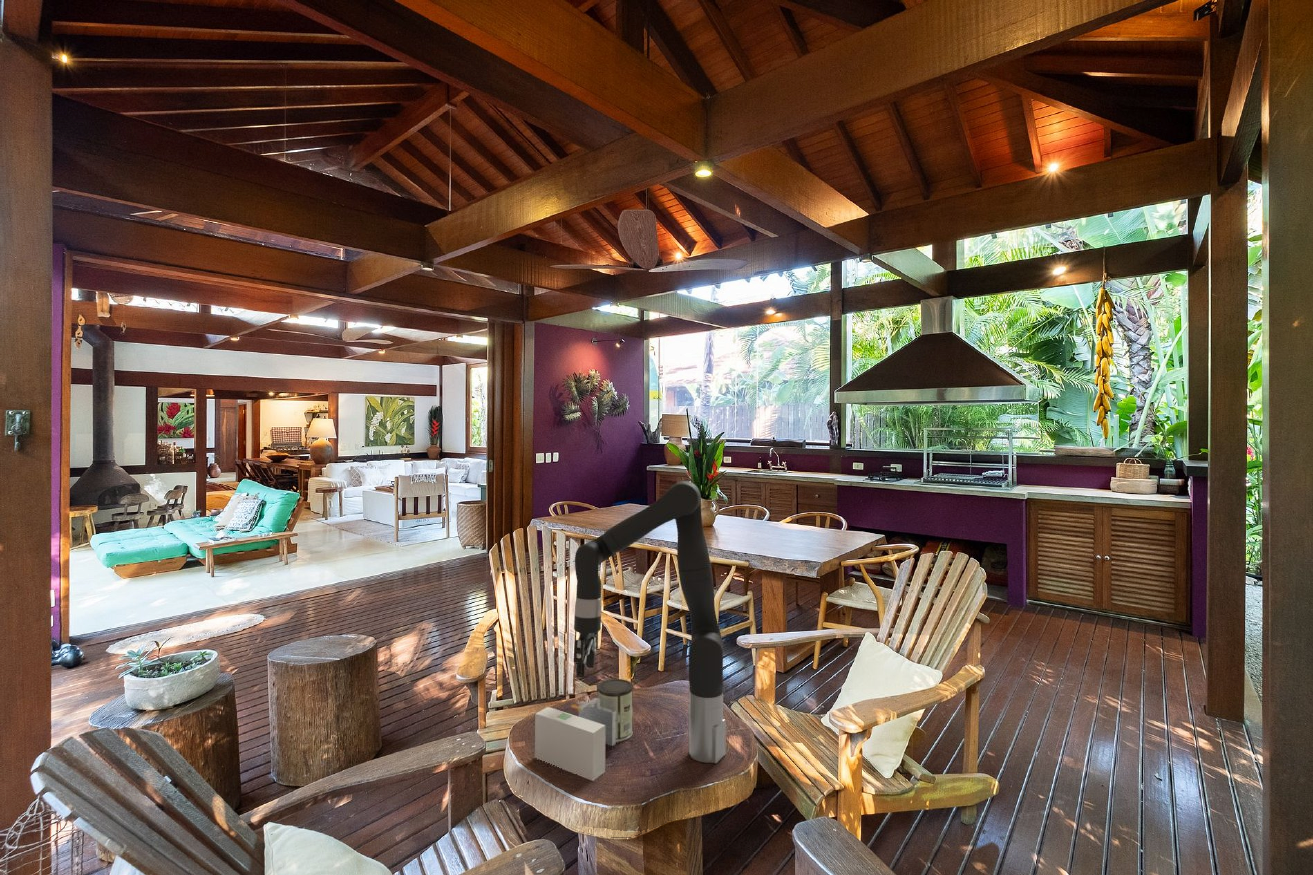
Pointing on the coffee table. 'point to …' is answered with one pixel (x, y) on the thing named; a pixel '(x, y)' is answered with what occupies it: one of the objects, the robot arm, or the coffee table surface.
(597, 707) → the grey t-shaped bracket
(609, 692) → the coffee can
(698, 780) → the coffee table surface
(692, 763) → the coffee table surface
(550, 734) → the gauge housing
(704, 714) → the robot arm
